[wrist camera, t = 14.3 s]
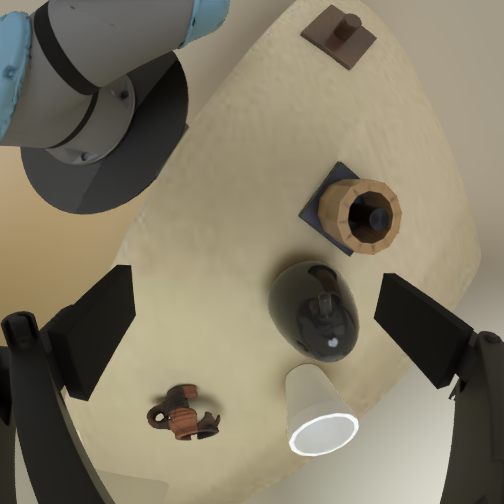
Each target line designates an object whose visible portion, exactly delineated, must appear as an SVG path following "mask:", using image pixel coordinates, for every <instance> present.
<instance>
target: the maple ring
mask: <svg viewBox="0 0 504 504" xmlns="http://www.w3.org/2000/svg"><path fill="white" fill-rule="evenodd" d="M358 195H361V196H362V197H363V199H364V202H365V205H369V206H374V207H379V208H383V209H385V210H386V211H387V213H388V215H389V224H388V226H387V227H386V228H385V229H384V230H383V231H375V230H372V229H370V228H367V227H364V226H362V225H360V227H359V228H358V229H355V230H353V231H351V230H350V227H349V224H348V215H349V208H350V206H351V204H352V203H353V202H354V200H355V199H356V197H357V196H358ZM401 215H402V212H401V208H400V205H399V201H398V198H397V195H396V194H395V193H394V192H393V191H392V190H391V189H390V188H389V187H388V186H387V185H386V184H385V183H382V182H378V181H373V180H368V179H343V180H340V181H338V182H335V183H333V184H330V185H329V186H328V188H327V189H326V190H325V192H324V193H323V194H322V196H321V197H320V200H319V208H318V217H319V220H320V223H321V225H322V228H323V230H324V231H325V232H326V233H327V234H329V235H330V236H331V237H332V238H334V239H335V240H336V241H338V242H340V243H341V244H343V245H345V246H346V247H348V248H350V249H351V250H353V251H354V252H356V253H362V254H372V255H374V254H376V253H378V252H380V251H381V250H383V249H385V248H387V247H389V246H390V244H391V243H392V241H393V240H394V238H395V237H396V235H397V234H398V232H399V228H400V222H401Z"/></svg>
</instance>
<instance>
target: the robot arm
mask: <svg viewBox="0 0 504 504" xmlns="http://www.w3.org/2000/svg"><path fill="white" fill-rule="evenodd" d="M229 2H230V0H49V1H48V2H46V3H45V4H44V5H43V6H41V7H40V8H38V9H37V10H36V11H35V12H33V13H32V14H31V15H30V16H28V14H27V13H25V12H16V11H14V12H11V13H9V14H6V15H3V16H2V17H0V145H2V146H20V147H34V148H44V149H45V150H47V151H48V152H49V153H50V154H51V155H53V156H54V157H55V158H56V159H58V160H59V161H61V162H64V163H66V164H70V165H78V166H85V165H91V164H94V163H97V162H99V161H101V160H103V159H105V158H106V157H108V156H109V155H111V154H112V153H113V152H114V151H115V150H116V149H117V148H118V147H119V146H120V145H121V143H122V142H123V141H124V139H125V138H126V136H127V135H128V133H129V131H130V129H131V127H132V125H133V122H134V119H135V115H136V109H137V95H136V90H135V87H134V85H133V83H132V81H131V80H130V78H129V77H128V76H127V75H126V73H128V72H130V71H132V70H134V69H136V68H137V67H139V66H141V65H143V64H145V63H147V62H149V61H151V60H153V59H155V58H157V57H159V56H161V55H164V54H166V53H168V52H170V51H172V50H175V49H181V48H183V47H184V46H186V45H187V43H189V42H191V41H193V40H196V39H198V38H200V37H203V36H205V35H207V34H210V33H212V32H214V31H215V30H217V29H218V28H219V27H220V26H221V25H222V23H223V22H224V20H225V17H226V15H227V13H228V9H229ZM135 316H136V312H135V303H134V294H133V283H132V270H131V265H116V266H115V267H114V268H113V269H112V270H111V271H110V272H108V273H107V274H106V275H105V276H104V277H103V278H102V279H101V280H100V281H98V282H97V283H96V284H95V285H94V286H93V287H92V288H91V289H90V290H89V291H88V292H86V293H85V294H84V295H83V296H82V297H81V298H80V299H79V300H78V301H77V302H76V303H75V304H74V305H69V306H67V307H65V308H63V309H61V310H60V311H59V312H58V313H57V314H56V315H55V317H53V318H52V319H51V320H50V321H49V322H48V323H47V324H46V325H45V326H44V327H43V328H42V329H41V330H40V331H39V330H38V326H37V323H36V319H35V316H34V314H32V313H30V312H25V311H22V312H16V313H13V314H10V315H8V316H7V317H5V318H4V319H3V320H2V322H1V327H2V330H3V333H4V336H5V339H6V341H7V345H8V347H4V346H0V504H17V501H16V490H15V489H16V488H15V433H16V428H17V433H18V438H19V442H20V446H21V450H22V454H23V458H24V462H25V465H26V469H27V472H28V475H29V478H30V482H31V484H32V487H33V490H34V493H35V496H36V498H37V501H38V503H39V504H115V503H114V501H113V499H112V498H111V496H110V495H109V493H108V491H107V490H106V488H105V486H104V485H103V483H102V481H101V480H100V478H99V476H98V474H97V472H96V471H95V469H94V467H93V465H92V463H91V461H90V459H89V457H88V455H87V453H86V451H85V449H84V447H83V445H82V443H81V441H80V438H79V436H78V434H77V432H76V429H75V427H74V425H73V422H72V420H71V417H70V415H69V412H68V410H67V407H66V404H65V402H64V399H63V397H62V394H61V390H62V388H63V387H64V385H65V386H66V389H67V391H68V393H69V396H70V397H73V398H76V399H80V400H84V401H88V400H89V398H90V396H91V394H92V392H93V390H94V388H95V386H96V385H97V383H98V381H99V379H100V377H101V375H102V373H103V372H104V370H105V368H106V366H107V364H108V363H109V361H110V359H111V357H112V355H113V354H114V352H115V350H116V348H117V347H118V345H119V343H120V341H121V340H122V338H123V336H124V334H125V333H126V331H127V329H128V328H129V326H130V324H131V323H132V321H133V319H134V318H135ZM374 319H375V320H376V321H377V322H378V324H379V325H380V326H381V327H382V328H383V329H384V330H385V331H386V332H387V333H388V334H389V335H390V336H391V338H392V339H393V340H394V341H395V342H396V343H397V344H398V345H399V346H400V347H401V349H402V350H403V351H404V352H405V353H406V354H407V355H408V356H409V357H410V359H411V360H412V361H413V362H414V363H415V364H416V365H417V366H418V368H419V369H420V370H421V371H422V372H423V373H424V374H425V376H426V377H427V378H428V379H429V380H430V381H431V382H432V384H433V385H434V386H435V387H436V388H437V389H439V388H443V387H446V386H449V385H450V383H451V381H452V379H453V377H454V374H457V376H458V377H459V379H458V381H457V383H456V385H455V387H454V389H453V391H452V393H451V394H450V396H449V399H451V398H452V396H454V395H455V398H454V400H455V414H454V427H453V437H452V445H451V452H450V458H449V464H448V470H447V475H446V480H445V484H444V489H443V493H442V497H441V501H440V504H504V342H503V341H502V340H501V338H500V337H499V336H497V335H496V334H495V333H492V332H488V331H481V332H480V333H479V334H477V333H475V332H474V331H473V330H474V329H473V328H472V327H471V326H469V325H468V324H467V323H465V322H464V321H463V320H461V319H460V318H458V317H457V316H456V315H454V314H453V313H452V312H450V311H449V310H447V309H446V308H445V307H443V306H442V305H440V304H439V303H438V302H436V301H435V300H433V299H432V298H431V297H429V296H428V295H426V294H425V293H423V292H422V291H420V290H419V289H417V288H416V287H415V286H413V285H412V284H410V283H409V282H407V281H406V280H404V279H403V278H401V277H400V276H398V275H397V274H395V273H384V275H383V280H382V285H381V289H380V294H379V298H378V303H377V307H376V311H375V315H374Z"/></svg>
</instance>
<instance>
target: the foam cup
mask: <svg viewBox="0 0 504 504" xmlns="http://www.w3.org/2000/svg"><path fill="white" fill-rule="evenodd" d="M285 390H286V409H287V429H286V432H287V437H288V441H289V444H290V447H291V449H292V451H294V452H296V453H298V454H300V455H308V456H316V455H321V454H326V453H329V452H332V451H334V450H336V449H338V448H340V447H342V446H344V445H345V444H346V443H347V442H348V441H350V440H351V439H352V438H353V437H354V435H355V433H356V432H357V430H358V419H357V417H356V415H355V413H354V411H353V409H352V408H351V407H350V406H348V405H347V403H346V402H345V401H344V399H343V398H342V397H341V395H340V394H339V393H338V391H337V390H336V389H335V387H334V386H333V385H332V383H331V382H330V380H329V379H328V378H327V376H326V375H325V374H324V372H323V371H322V370H321V369H320V368H319V367H318V366H317V365H312V364H304V365H299V366H298V367H296V368H294V369H292V370H291V371H290V372H289V373H288V375H287V377H286V380H285Z"/></svg>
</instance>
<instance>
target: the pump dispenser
mask: <svg viewBox="0 0 504 504" xmlns="http://www.w3.org/2000/svg"><path fill="white" fill-rule="evenodd" d="M268 310H269V314H270V316H271V319H272V321H273V323H274V325H275V326H276V328H277V329H278V331H279V332H280V334H281V335H282V336H283V337H284V338H285V340H286V341H287V342H288V343H289V344H290V345H291V346H293V347H294V348H295V349H296V350H297V351H299V352H300V353H301V354H303V355H304V356H306V357H308V358H310V359H312V360H315V361H319V362H327V363H328V362H336V361H339V360H341V359H343V358H344V357H346V356H347V355H348V354H349V353H350V352H351V351H352V350H353V348H354V346H355V344H356V342H357V339H358V334H359V316H358V311H357V307H356V304H355V301H354V298H353V295H352V293H351V290H350V288H349V287H348V285H347V283H346V281H345V280H344V278H343V277H342V276H341V274H340V273H339V272H338V271H337V270H336V269H334V268H333V267H332V266H330V265H328V264H326V263H323V262H319V261H304V262H300V263H297V264H294V265H292V266H290V267H288V268H287V269H285V270H284V271H283V272H282V273H281V274H280V275H279V276H278V277H277V278H276V279H275V281H274V283H273V284H272V286H271V288H270V291H269V295H268Z"/></svg>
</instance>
